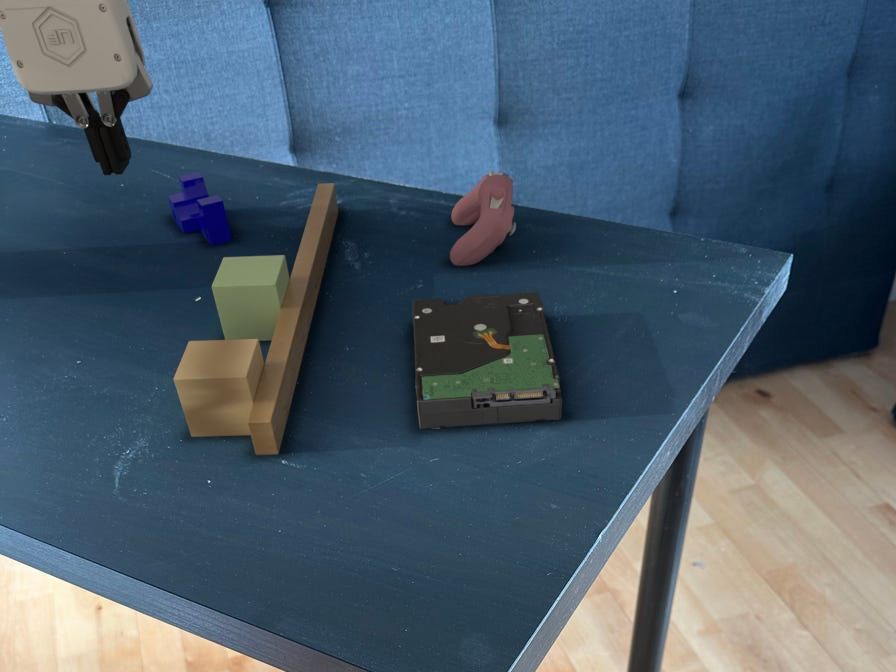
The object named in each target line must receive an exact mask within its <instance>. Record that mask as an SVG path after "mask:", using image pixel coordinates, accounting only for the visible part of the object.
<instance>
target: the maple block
mask: <svg viewBox="0 0 896 672" xmlns="http://www.w3.org/2000/svg"><path fill="white" fill-rule="evenodd" d="M264 365H265V362H264V357H263V352H262V349H261V345H260V341H259V340H258V339H238V340H225V339H210V340H208V339H207V340H189V341H188V343H187V345H186V348H185V350H184V352H183V355H182V357H181V360H180V362H179V365H178V367H177V369H176V372H175V373H174V377H173V382H174V385H175V388H176V391H177V395H178V398H179V401H180V404H181V407H182V411H183V414H184V416H185V421H186V423H187V426H188V431H189V433H190V436H191V438H197V437H198V438H199V437H201V438H203V437H231V436H232V437H235V436H251V434H250V430H249V426H248V419H249V416H250V412H251V409H252V406H253V402H254V399H255V395H256V392H257V389H258V385H259V382H260V379H261V375H262V372H263V368H264Z"/></svg>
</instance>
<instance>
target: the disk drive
mask: <svg viewBox="0 0 896 672" xmlns="http://www.w3.org/2000/svg"><path fill="white" fill-rule="evenodd" d="M411 311H412V325H413V341H414V343H413V344H414V348H413V349H414V369H415V381H414V382H415V385H414V387H415V394H416V395H415V396H416V406H417V417H418V426H419V429H420V430H427V429H433V430H435V429H450V428H451V429H452V428H461V427H462V428H465V427H480V426H492V425H493V426H494V425H506V424H519V423H520V424H522V423H529V422H530V423H536V422H541V421H542V422H544V421H545V422H547V421H551V420H554V421H559V420H561V419H562V410H563V409H562V407H563V396H562V391H561V385H560V372H559V367H558V366H557V362H556V358H555V354H554V351H553V345H552V342H551V338H550V337H551V336H550V334H549V328H548V325H547V320H546V316H545V311H544V303H543V302H542V299H541V296H540V292H539V291H527V292H515V293H503V294H502V293H498V294H481V295H467V296H466V297H464V298H462V300H459V301H457V302H454V303H453V304H451V303H450V302H447V301H443V299H442V298H441V297H435V298H420V299H419V298H418V299H413V300H412V309H411Z"/></svg>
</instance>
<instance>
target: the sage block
mask: <svg viewBox="0 0 896 672" xmlns="http://www.w3.org/2000/svg"><path fill="white" fill-rule="evenodd" d="M289 281H290V275H289V270H288V264H287V259H286V255H285V254H277V255H251V256H250V255H249V256H246V255H245V256H224V257H223V258H222V261H221V262H220V265H219V268H218V270H217V273H216V275H215V277H214V279H213V282H212V284H211V290H212V294H213V298H214V301H215V306H216V310H217V314H218V317H219V321H220V326H221V329H222V332H223V337H224V340H238V339H258V340H259V342H260V341H261V342H262V341H263V342H264V341H272V338H273V335H274V331H275V328H276V325H277V321H278V318H279V314H280V311H281V308H282V304H283V301H284V298H285V294H286V291H287V287H288V284H289Z"/></svg>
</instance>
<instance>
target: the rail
mask: <svg viewBox="0 0 896 672" xmlns="http://www.w3.org/2000/svg"><path fill="white" fill-rule="evenodd" d="M337 198H338V197H337V192H336V185H335V183H334V182H329V183H317V187H316V190H315V193H314V197H313V200H312V202H311V206H310V211H309V214H308V217H307V220H306V223H305V227H304V231H303V233H302V237H301V241H300V244H299V246H298V250H297V254H296V258H295V261H294V264H293V266H292V267H293V268H292V271H291V274H290V276H289V279H290V281H289V284H288V287H287V291H286V294H285V298H284V301H283V304H282V308H281V311H280V314H279V318H278V321H277V325H276V328H275V331H274V335H273V338H272V340H270V345H269V347H268V348H269V349H268V352H267V355H266V358H265V362H264V368H263V372H262V375H261V379H260V382H259V385H258V389H257V392H256V395H255V399H254V402H253V406H252V409H251V412H250V416H249V419H248V426H249V430H250V434H251V435H250V438H251V442H252V445H253V448H254V453H255V455H256V456H262V455H265V456H267V455H279V453H280V450H281V445H282V441H283V437H284V433H285V429H286V426H287V422H288V418H289V414H290V410H291V405H292V401H293V397H294V394H295V389H296V385H297V381H298V377H299V373H300V369H301V365H302V361H303V357H304V352H305V349H306V344H307V341H308V336H309V332H310V328H311V324H312V321H313V316H314V312H315V308H316V304H317V300H318V296H319V293H320V287H321V284H322V280H323V276H324V272H325V268H326V263H327V260H328V255H329V253H330V247H331V243H332V239H333V235H334V231H335V227H336V223H337V220H338V216H339V206H338V199H337Z"/></svg>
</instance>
